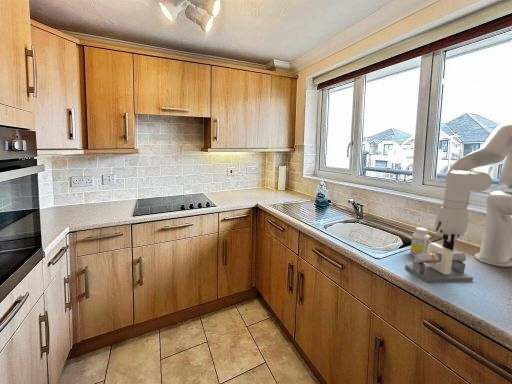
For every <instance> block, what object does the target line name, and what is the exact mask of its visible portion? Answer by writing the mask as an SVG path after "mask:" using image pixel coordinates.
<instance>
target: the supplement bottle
mask: <svg viewBox="0 0 512 384" xmlns="http://www.w3.org/2000/svg"><path fill="white" fill-rule="evenodd" d="M411 237H412V238H411V244H410V255H412V256H413V257H414V256H415V254H424V253H428V249H429V243H430V242H429V241H430V235H428V228H426V227H421V226H420V227H415V232H414V233H412V236H411Z"/></svg>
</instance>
